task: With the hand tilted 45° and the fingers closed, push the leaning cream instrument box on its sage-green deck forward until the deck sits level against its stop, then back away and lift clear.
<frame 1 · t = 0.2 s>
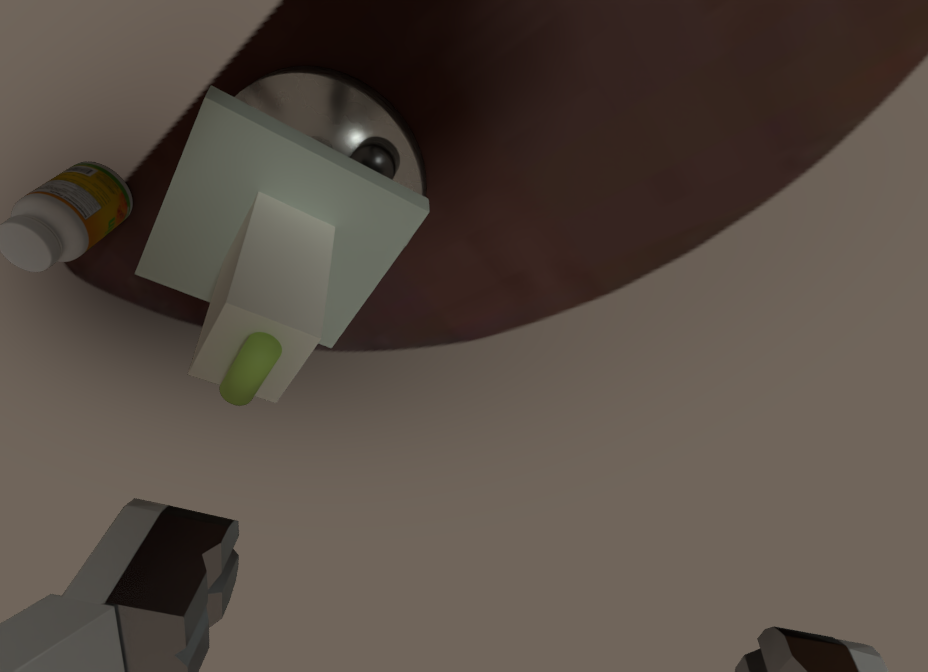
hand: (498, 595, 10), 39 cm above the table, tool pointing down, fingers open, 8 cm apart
supplement bottle: (104, 190, 53), on the table
instrument: (266, 296, 37), point 15 cm above the table, hinge at -14.0°
tribrach base: (324, 175, 49), on the table
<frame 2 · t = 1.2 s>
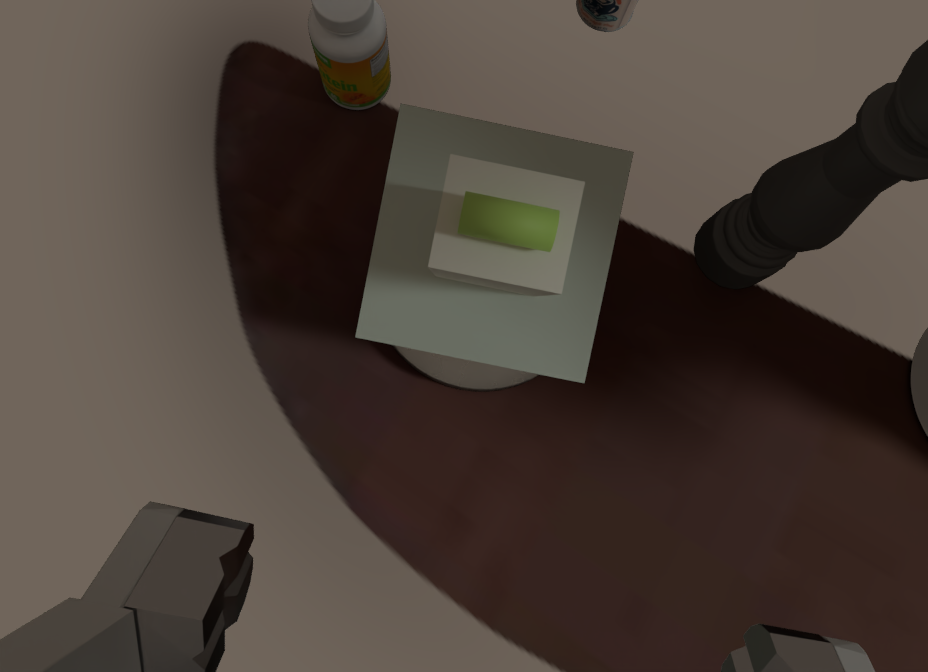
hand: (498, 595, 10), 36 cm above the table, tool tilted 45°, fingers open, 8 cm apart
beer can: (602, 11, 54), on the table
supplement bottle: (357, 82, 51), on the table
candle holder: (731, 251, 50), on the table
instrument: (499, 236, 33), point 15 cm above the table, hinge at -14.0°
tribrach base: (480, 285, 48), on the table
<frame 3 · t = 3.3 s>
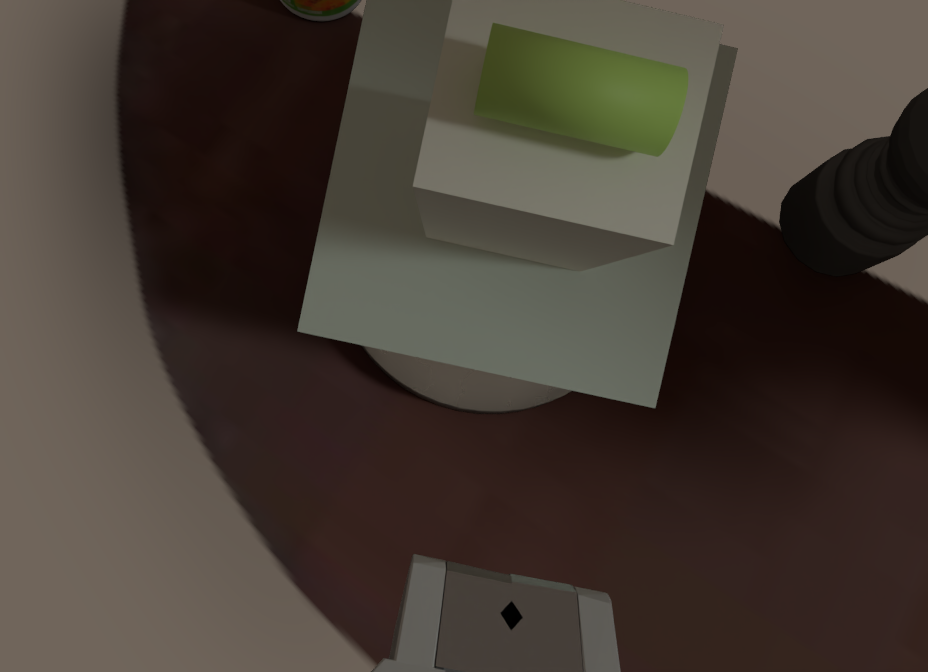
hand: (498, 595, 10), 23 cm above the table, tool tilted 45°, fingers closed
candle holder: (829, 225, 37), on the table
instrument: (537, 157, 19), point 15 cm above the table, hinge at -14.0°
tribrach base: (487, 265, 35), on the table
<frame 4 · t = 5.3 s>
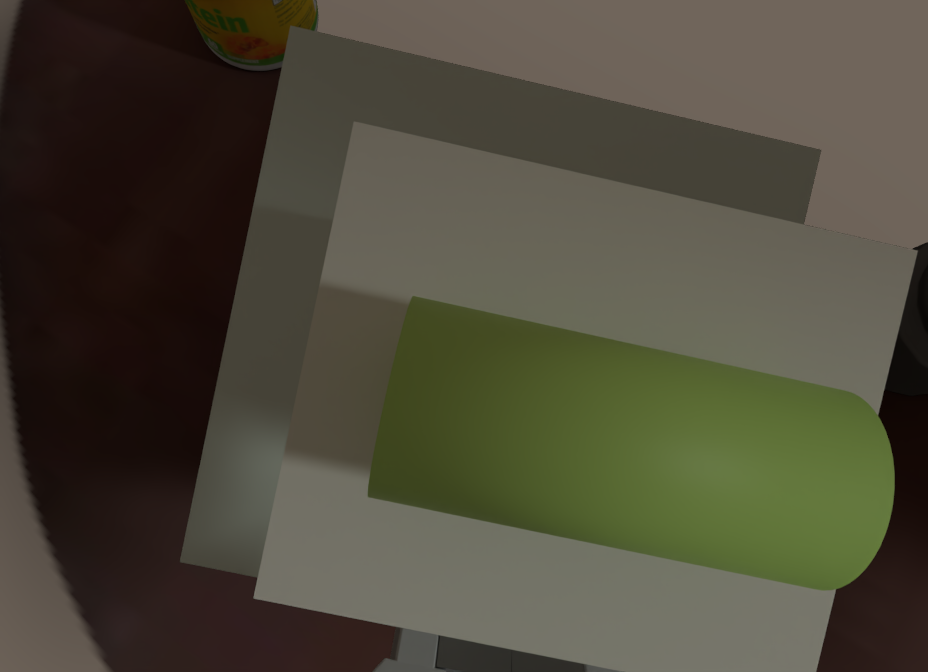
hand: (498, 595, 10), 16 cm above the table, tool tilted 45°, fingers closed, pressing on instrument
supplement bottle: (261, 25, 30), on the table
candle holder: (899, 328, 29), on the table
instrument: (527, 375, 12), point 15 cm above the table, hinge at -13.8°, touching gripper
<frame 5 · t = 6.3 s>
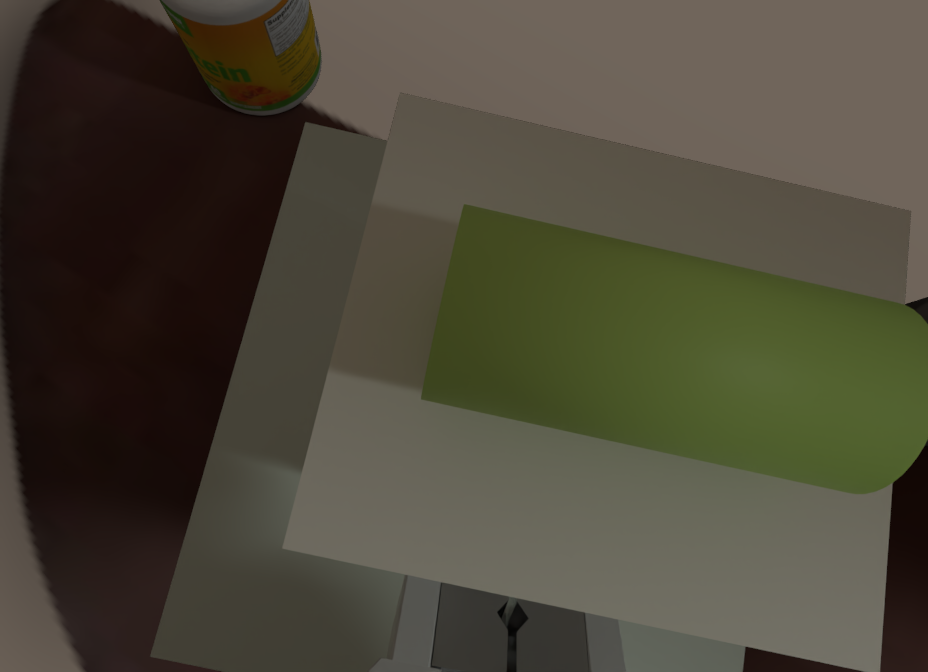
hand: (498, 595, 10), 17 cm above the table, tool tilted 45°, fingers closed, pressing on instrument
supplement bottle: (264, 68, 30), on the table
instrument: (539, 406, 12), point 16 cm above the table, hinge at 0.5°, touching gripper
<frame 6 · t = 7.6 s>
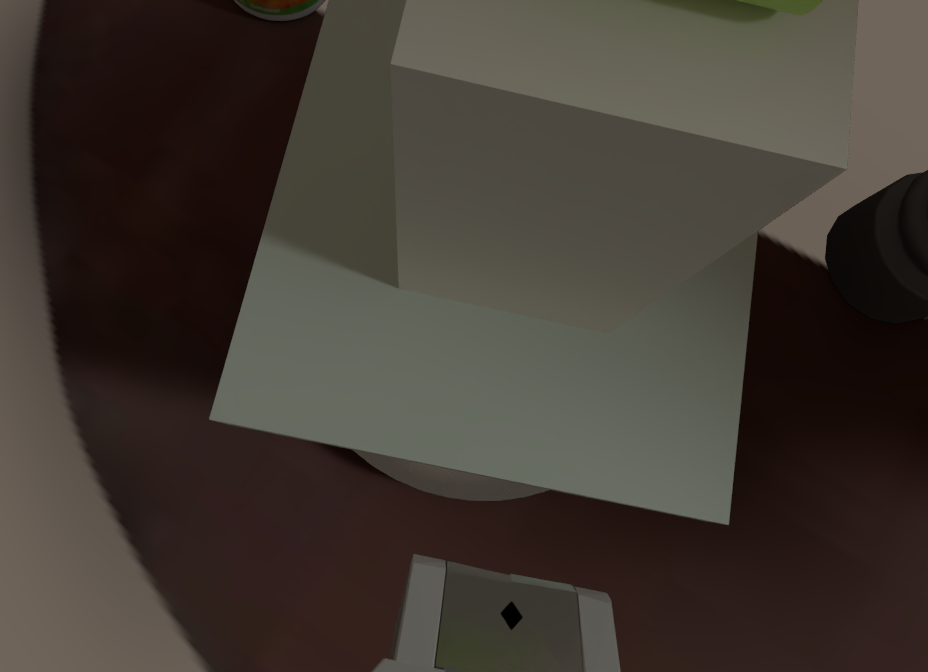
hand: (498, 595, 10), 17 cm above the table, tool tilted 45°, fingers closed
candle holder: (883, 262, 31), on the table
instrument: (562, 137, 13), point 16 cm above the table, hinge at 0.5°
tribrach base: (479, 314, 29), on the table
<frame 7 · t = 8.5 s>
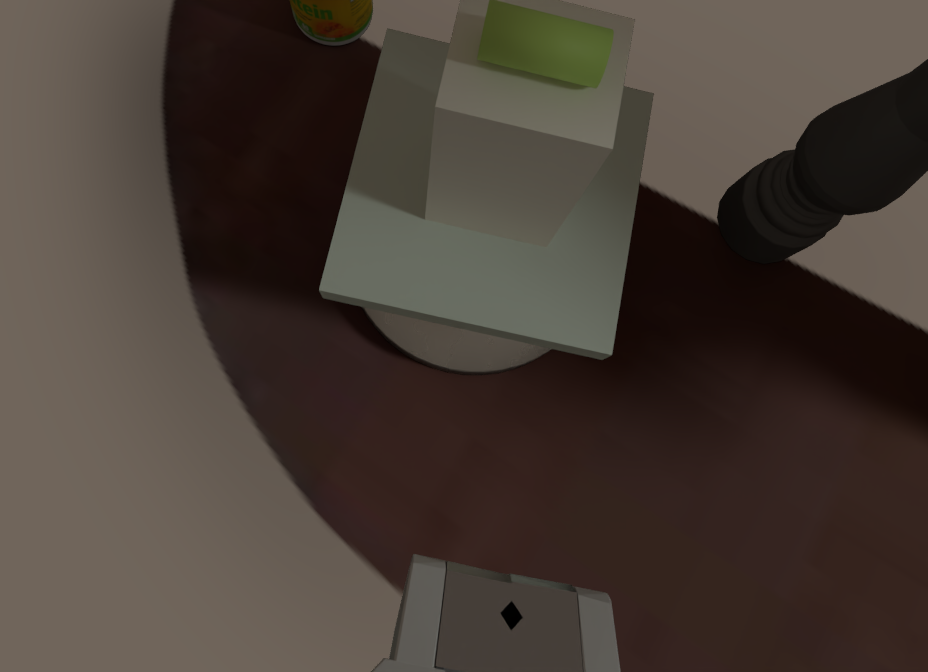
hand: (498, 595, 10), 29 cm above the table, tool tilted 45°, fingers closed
supplement bottle: (333, 14, 44), on the table
candle holder: (759, 221, 44), on the table
instrument: (513, 133, 26), point 16 cm above the table, hinge at 0.5°
tribrach base: (473, 252, 42), on the table
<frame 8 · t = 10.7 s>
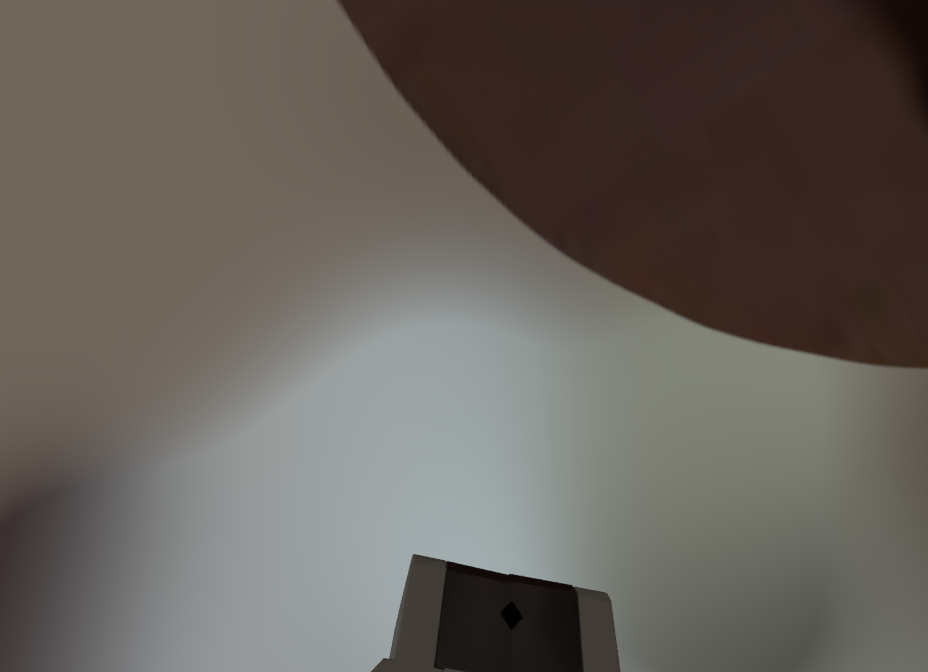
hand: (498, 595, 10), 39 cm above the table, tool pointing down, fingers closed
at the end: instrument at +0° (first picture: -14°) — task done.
